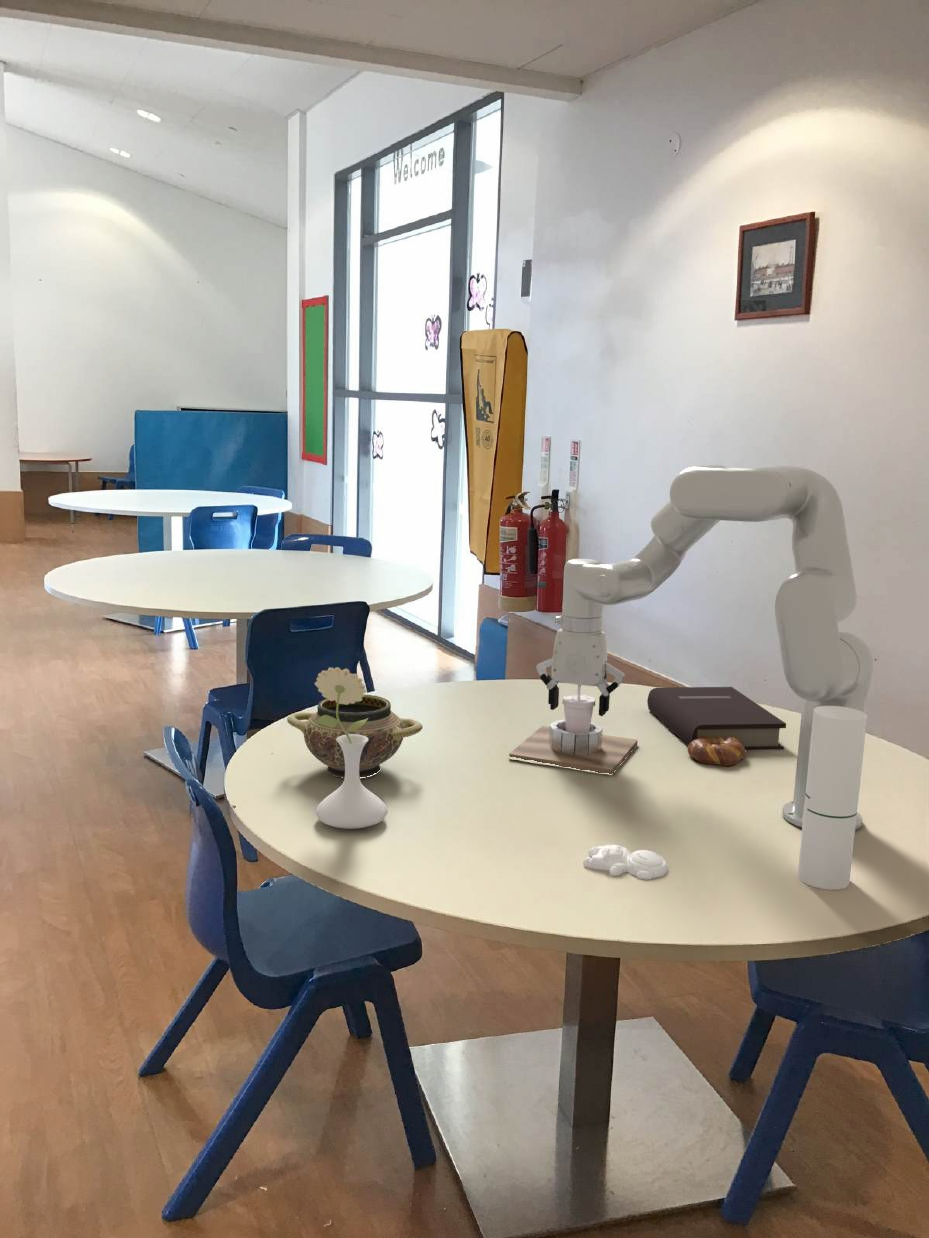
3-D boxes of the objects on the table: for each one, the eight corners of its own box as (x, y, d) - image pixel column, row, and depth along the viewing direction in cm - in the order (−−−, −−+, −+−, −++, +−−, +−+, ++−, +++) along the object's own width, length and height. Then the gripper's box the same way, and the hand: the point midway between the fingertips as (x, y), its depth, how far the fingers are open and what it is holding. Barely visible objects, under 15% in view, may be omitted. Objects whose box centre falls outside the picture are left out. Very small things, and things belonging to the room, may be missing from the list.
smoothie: (557, 749, 207) (560, 679, 204) (563, 740, 213) (567, 671, 210) (589, 753, 205) (593, 682, 202) (595, 743, 211) (599, 674, 208)
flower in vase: (401, 818, 174) (404, 668, 169) (359, 841, 164) (361, 683, 159) (336, 801, 180) (337, 656, 175) (292, 822, 171) (292, 670, 166)
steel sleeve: (592, 757, 203) (594, 737, 202) (542, 750, 206) (543, 730, 206) (606, 743, 212) (607, 723, 211) (558, 736, 215) (559, 716, 215)
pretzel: (715, 745, 217) (716, 727, 216) (759, 760, 208) (760, 742, 207) (674, 754, 210) (675, 736, 209) (718, 771, 201) (720, 752, 200)
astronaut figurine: (593, 849, 165) (594, 831, 164) (671, 863, 160) (673, 844, 160) (578, 871, 157) (579, 852, 156) (659, 887, 152) (661, 867, 152)
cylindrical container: (838, 868, 159) (855, 706, 155) (857, 889, 152) (875, 720, 148) (790, 867, 159) (806, 705, 154) (807, 889, 152) (824, 719, 147)
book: (646, 713, 239) (648, 687, 238) (729, 712, 242) (731, 686, 241) (690, 753, 212) (692, 724, 211) (783, 751, 215) (786, 723, 214)
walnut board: (611, 776, 196) (612, 769, 196) (508, 759, 204) (509, 753, 204) (637, 745, 215) (637, 739, 214) (542, 731, 222) (542, 725, 222)
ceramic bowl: (427, 779, 200) (433, 698, 201) (407, 788, 182) (413, 700, 183) (300, 768, 204) (306, 689, 205) (269, 776, 186) (275, 690, 187)
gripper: (532, 623, 204) (529, 710, 207) (621, 632, 198) (617, 721, 201) (544, 617, 211) (541, 701, 214) (631, 625, 204) (626, 711, 208)
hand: (578, 711), depth 207 cm, fingers open, 9 cm apart
